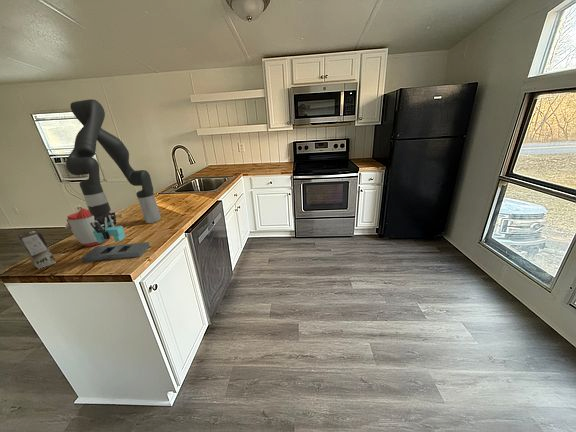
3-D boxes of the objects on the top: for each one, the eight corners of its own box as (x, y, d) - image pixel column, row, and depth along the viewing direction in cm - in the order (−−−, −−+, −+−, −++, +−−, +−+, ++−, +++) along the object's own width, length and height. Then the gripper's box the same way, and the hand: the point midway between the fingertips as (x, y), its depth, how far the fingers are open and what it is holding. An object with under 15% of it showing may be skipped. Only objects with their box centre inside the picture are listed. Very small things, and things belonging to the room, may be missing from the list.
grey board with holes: (98, 251, 118) (96, 246, 117) (149, 246, 119) (148, 242, 118) (83, 262, 108) (81, 257, 108) (139, 256, 110) (138, 252, 109)
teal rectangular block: (103, 238, 112) (98, 227, 110) (126, 236, 113) (122, 225, 111) (96, 243, 108) (92, 231, 106) (120, 241, 109) (116, 229, 106)
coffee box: (57, 262, 110) (41, 232, 104) (38, 269, 105) (20, 238, 99) (51, 258, 114) (35, 228, 108) (33, 264, 109) (15, 234, 103)
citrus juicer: (74, 243, 128) (59, 209, 121) (112, 232, 138) (99, 201, 131) (74, 253, 117) (56, 217, 109) (115, 241, 127) (101, 207, 119)
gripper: (99, 198, 110) (112, 231, 116) (76, 208, 97) (91, 244, 103) (115, 197, 110) (127, 229, 117) (94, 207, 97) (109, 243, 103)
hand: (110, 236), depth 110 cm, fingers closed on teal rectangular block, 4 cm apart
